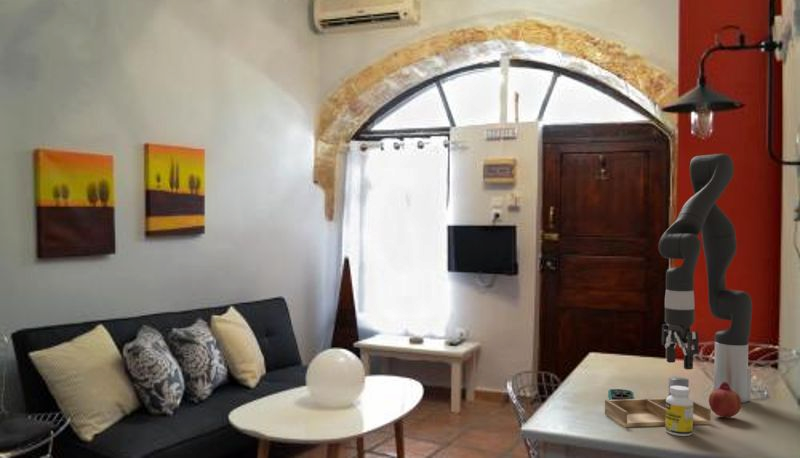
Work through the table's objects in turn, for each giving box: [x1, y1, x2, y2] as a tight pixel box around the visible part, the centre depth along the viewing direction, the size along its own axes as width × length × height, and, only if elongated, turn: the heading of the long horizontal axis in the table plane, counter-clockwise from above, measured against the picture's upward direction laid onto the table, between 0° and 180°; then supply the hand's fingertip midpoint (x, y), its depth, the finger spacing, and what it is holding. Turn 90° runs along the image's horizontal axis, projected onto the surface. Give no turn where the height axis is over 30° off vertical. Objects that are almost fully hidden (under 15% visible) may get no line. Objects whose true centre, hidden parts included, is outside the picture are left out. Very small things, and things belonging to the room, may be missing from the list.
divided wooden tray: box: [604, 397, 712, 428], centre depth 185 cm, size 24×12×4 cm, turn 98°
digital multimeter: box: [607, 388, 635, 400], centre depth 201 cm, size 7×15×3 cm, turn 165°
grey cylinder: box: [667, 376, 690, 397], centre depth 185 cm, size 5×5×10 cm
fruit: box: [708, 382, 742, 419], centre depth 187 cm, size 8×8×10 cm
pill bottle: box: [665, 386, 694, 437], centre depth 173 cm, size 6×6×12 cm
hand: (679, 365), depth 185 cm, fingers open, 8 cm apart
